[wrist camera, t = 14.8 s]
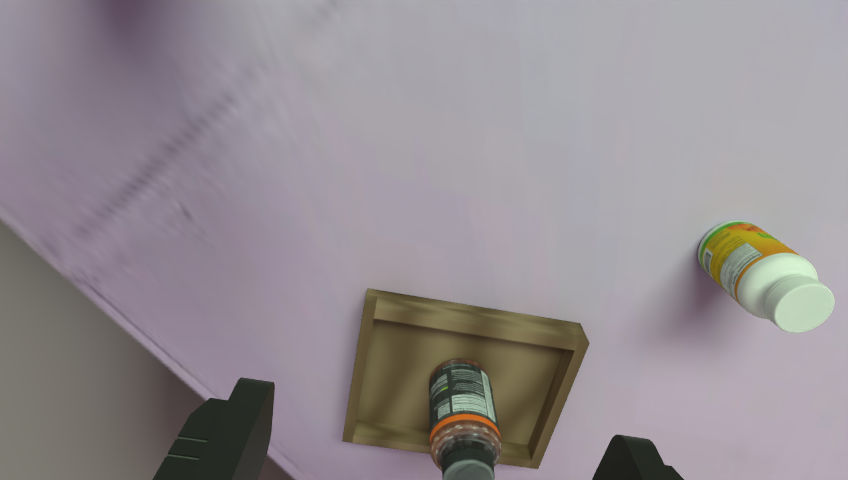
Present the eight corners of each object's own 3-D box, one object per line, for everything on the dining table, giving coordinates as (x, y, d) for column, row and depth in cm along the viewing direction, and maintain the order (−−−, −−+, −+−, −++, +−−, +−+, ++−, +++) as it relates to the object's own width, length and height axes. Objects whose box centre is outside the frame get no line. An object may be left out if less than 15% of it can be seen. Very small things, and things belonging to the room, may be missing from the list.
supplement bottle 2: (774, 240, 43) (863, 301, 34) (724, 284, 44) (797, 353, 36) (731, 206, 41) (813, 261, 32) (682, 254, 43) (747, 317, 34)
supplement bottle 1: (474, 410, 50) (486, 515, 40) (419, 392, 49) (417, 495, 39) (500, 366, 47) (520, 465, 37) (443, 347, 46) (447, 443, 36)
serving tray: (346, 418, 52) (342, 441, 49) (367, 288, 45) (363, 306, 42) (532, 445, 53) (538, 469, 50) (580, 323, 46) (589, 343, 44)
